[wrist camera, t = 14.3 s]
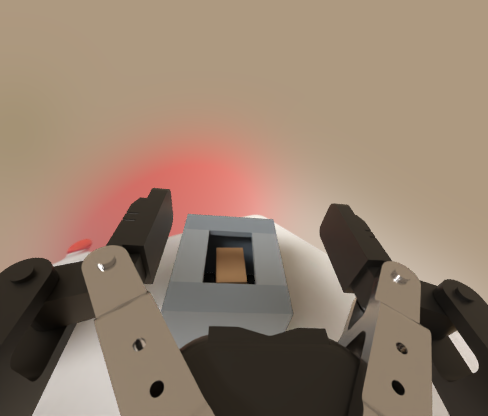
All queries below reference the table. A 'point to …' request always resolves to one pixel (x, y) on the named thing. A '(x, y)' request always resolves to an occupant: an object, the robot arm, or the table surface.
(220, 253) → the wooden block
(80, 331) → the table surface
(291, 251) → the table surface
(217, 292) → the grey box with opening
